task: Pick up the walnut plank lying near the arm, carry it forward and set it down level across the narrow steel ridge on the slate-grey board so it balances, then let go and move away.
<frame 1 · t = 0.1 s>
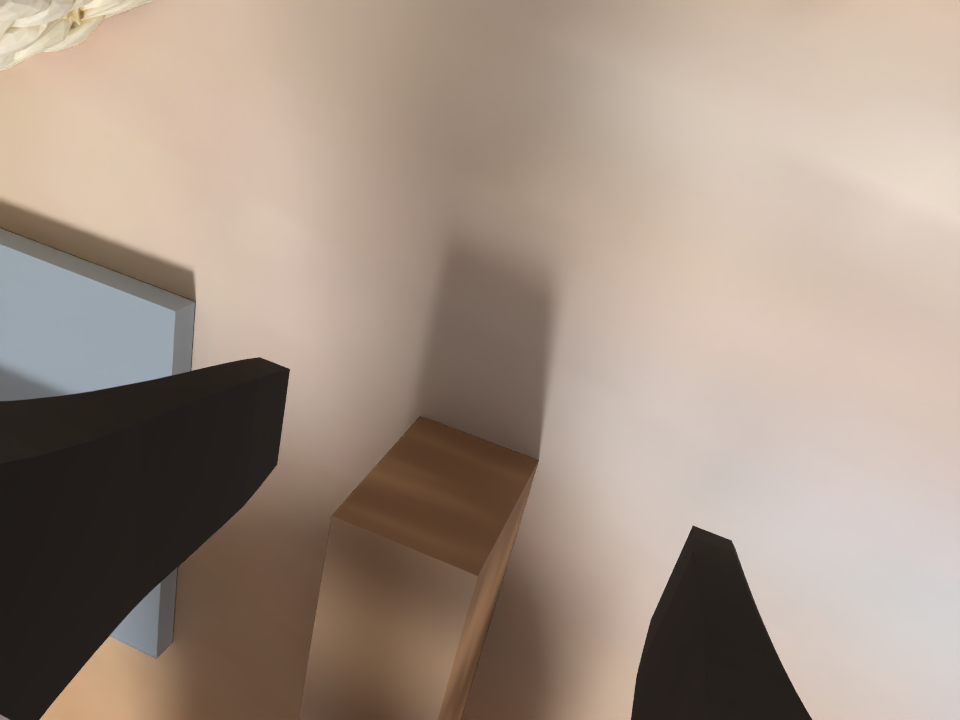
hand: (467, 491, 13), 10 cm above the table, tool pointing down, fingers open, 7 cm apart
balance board: (83, 449, 31), on the table
walnut plank: (438, 599, 28), on the table
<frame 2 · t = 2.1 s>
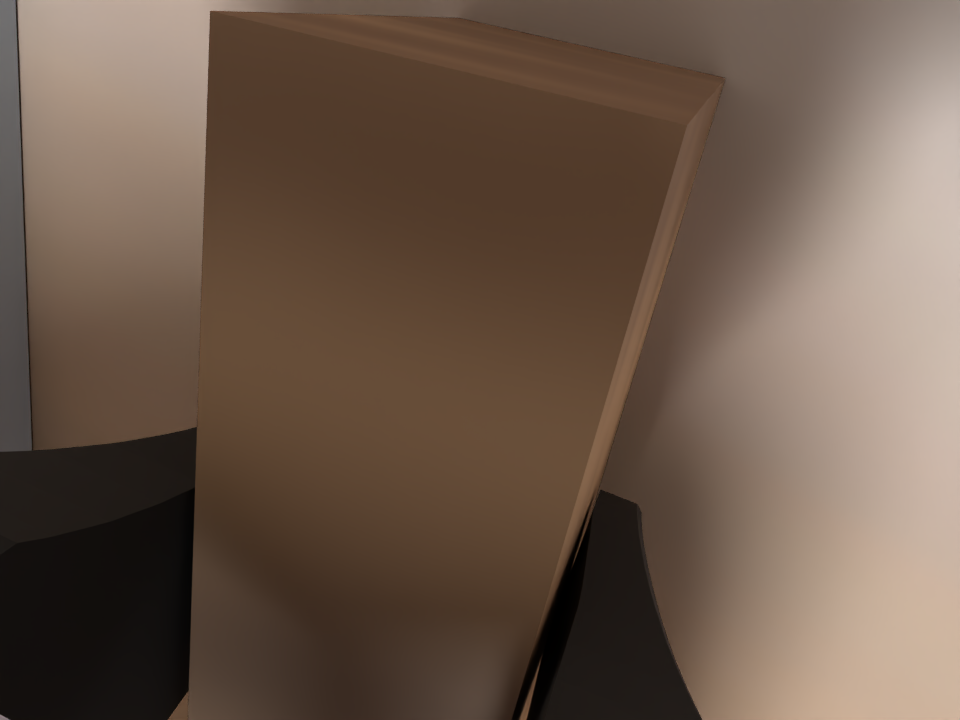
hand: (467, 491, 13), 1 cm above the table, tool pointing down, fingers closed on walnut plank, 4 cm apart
walnut plank: (493, 450, 14), on the table, touching gripper
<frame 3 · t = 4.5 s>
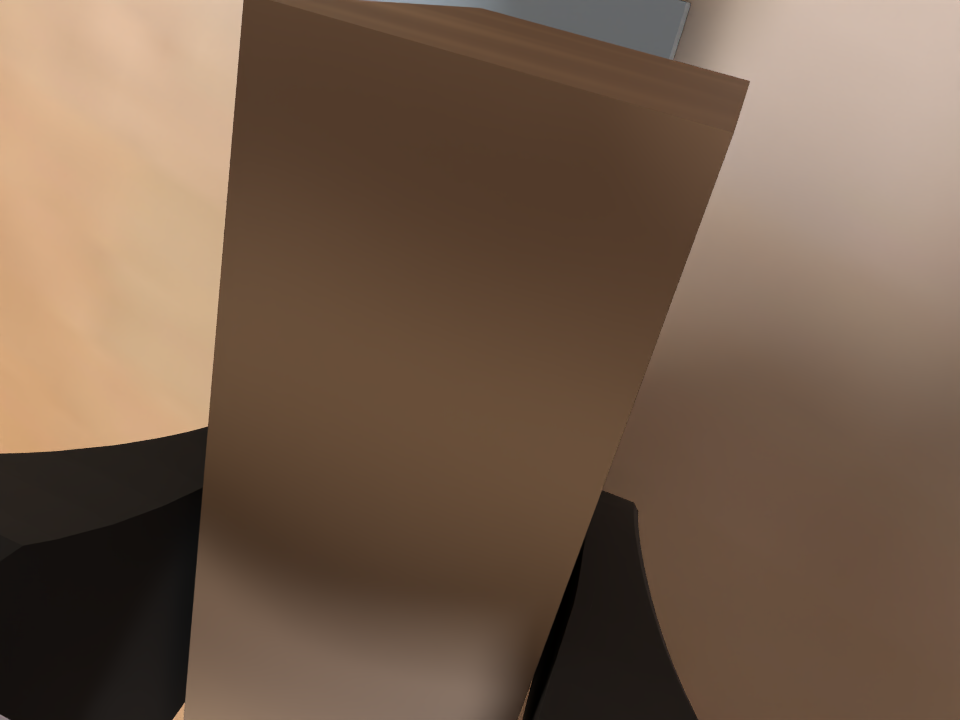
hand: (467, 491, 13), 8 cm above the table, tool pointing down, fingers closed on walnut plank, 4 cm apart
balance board: (430, 279, 21), on the table
walnut plank: (496, 446, 14), point 7 cm above the table, touching gripper
when the fingers open (5 cm above the table, at t = 6.0 s): walnut plank stays where it is, resting on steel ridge.
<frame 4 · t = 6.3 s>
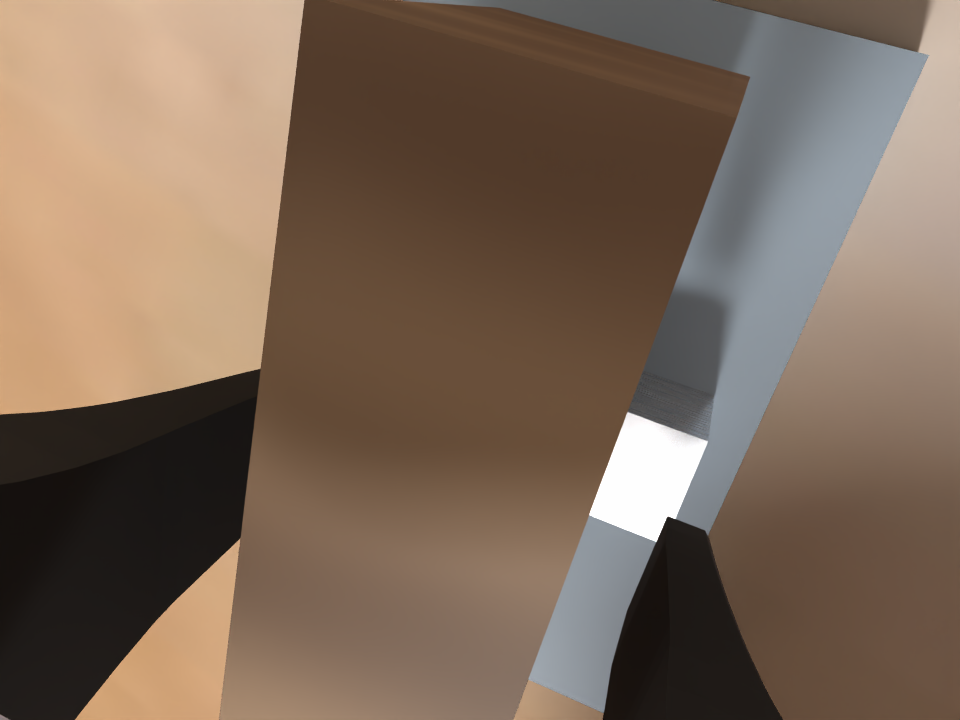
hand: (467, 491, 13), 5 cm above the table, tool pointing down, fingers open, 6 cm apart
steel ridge: (522, 405, 16), on the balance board, point 1 cm above the table
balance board: (546, 368, 18), on the table
walnut plank: (509, 421, 15), point 3 cm above the table, touching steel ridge
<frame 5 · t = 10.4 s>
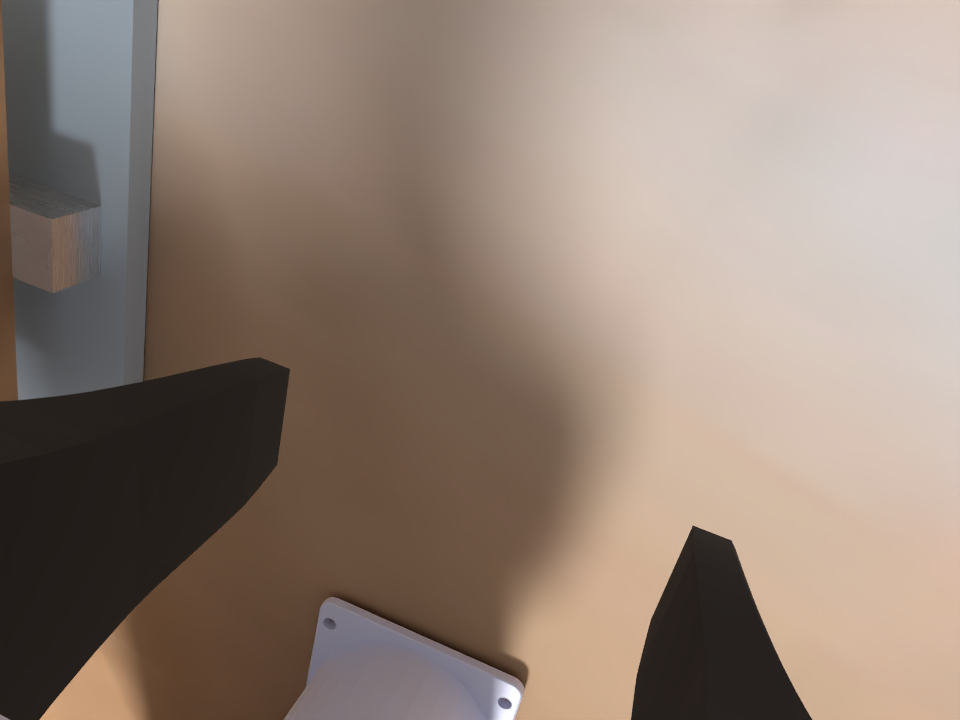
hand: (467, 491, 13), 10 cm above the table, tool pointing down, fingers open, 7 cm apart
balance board: (37, 202, 27), on the table
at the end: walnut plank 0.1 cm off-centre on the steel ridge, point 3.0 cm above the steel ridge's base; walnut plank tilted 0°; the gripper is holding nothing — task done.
